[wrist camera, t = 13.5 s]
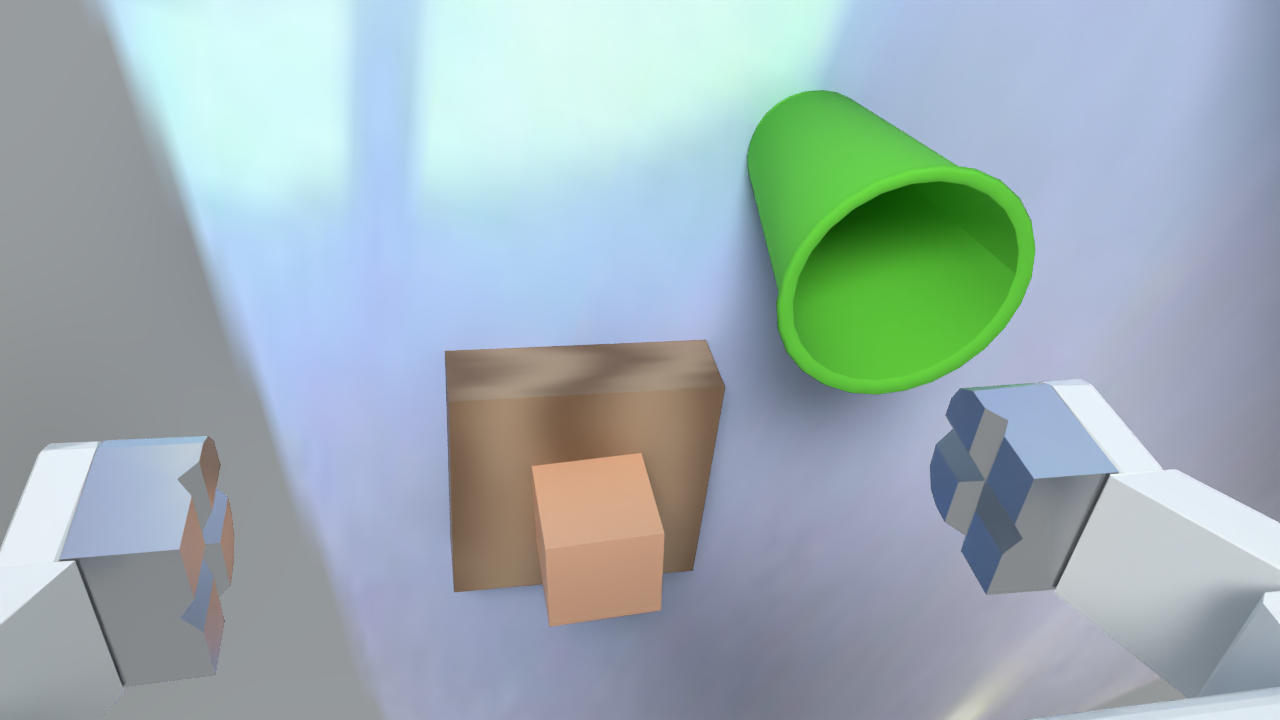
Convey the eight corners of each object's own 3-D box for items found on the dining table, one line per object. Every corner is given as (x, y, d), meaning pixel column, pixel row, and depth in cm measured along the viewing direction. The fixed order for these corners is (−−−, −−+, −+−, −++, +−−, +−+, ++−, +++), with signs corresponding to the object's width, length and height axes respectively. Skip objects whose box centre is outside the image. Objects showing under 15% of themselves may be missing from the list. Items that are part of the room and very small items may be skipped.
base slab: (703, 334, 49) (725, 386, 46) (675, 514, 56) (692, 570, 53) (444, 345, 46) (448, 401, 43) (450, 531, 53) (454, 592, 50)
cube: (641, 452, 47) (664, 533, 43) (639, 528, 50) (660, 610, 46) (531, 465, 46) (545, 549, 42) (536, 542, 49) (549, 626, 45)
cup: (702, 49, 40) (789, 184, 31) (925, 31, 41) (1067, 155, 32) (696, 250, 45) (769, 411, 37) (893, 228, 47) (1006, 379, 38)
